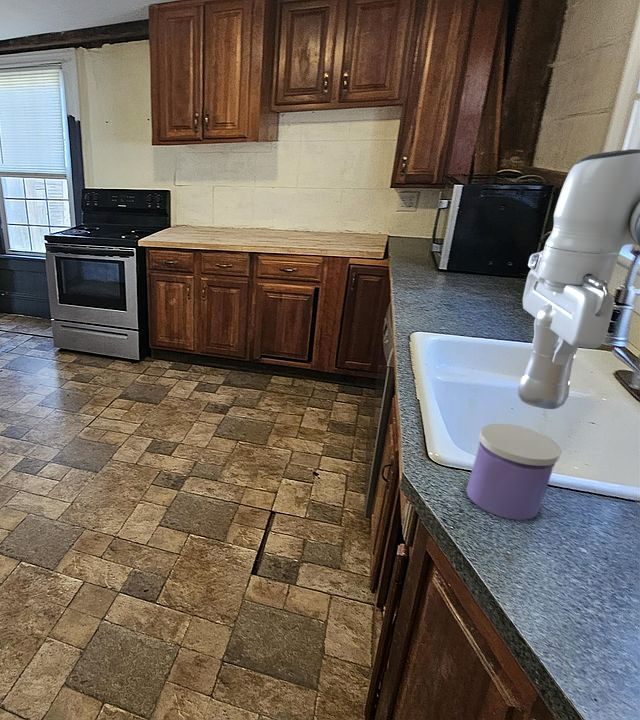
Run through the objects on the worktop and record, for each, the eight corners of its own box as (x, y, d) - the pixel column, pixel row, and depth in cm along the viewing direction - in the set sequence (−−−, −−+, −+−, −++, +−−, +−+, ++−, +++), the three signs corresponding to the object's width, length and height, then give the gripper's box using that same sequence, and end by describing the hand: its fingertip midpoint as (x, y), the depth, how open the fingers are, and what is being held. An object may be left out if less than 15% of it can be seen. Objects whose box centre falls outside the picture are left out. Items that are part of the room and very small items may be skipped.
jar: (525, 485, 98) (544, 428, 93) (551, 526, 87) (574, 464, 83) (457, 476, 100) (472, 419, 96) (474, 514, 90) (492, 453, 85)
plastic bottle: (515, 394, 90) (543, 278, 83) (564, 403, 86) (597, 282, 80) (513, 407, 85) (543, 284, 78) (565, 417, 81) (601, 290, 75)
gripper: (639, 286, 68) (604, 383, 73) (569, 256, 86) (545, 335, 91) (583, 282, 69) (552, 378, 74) (525, 253, 87) (504, 332, 93)
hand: (547, 354), depth 83 cm, fingers closed on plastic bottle, 6 cm apart
